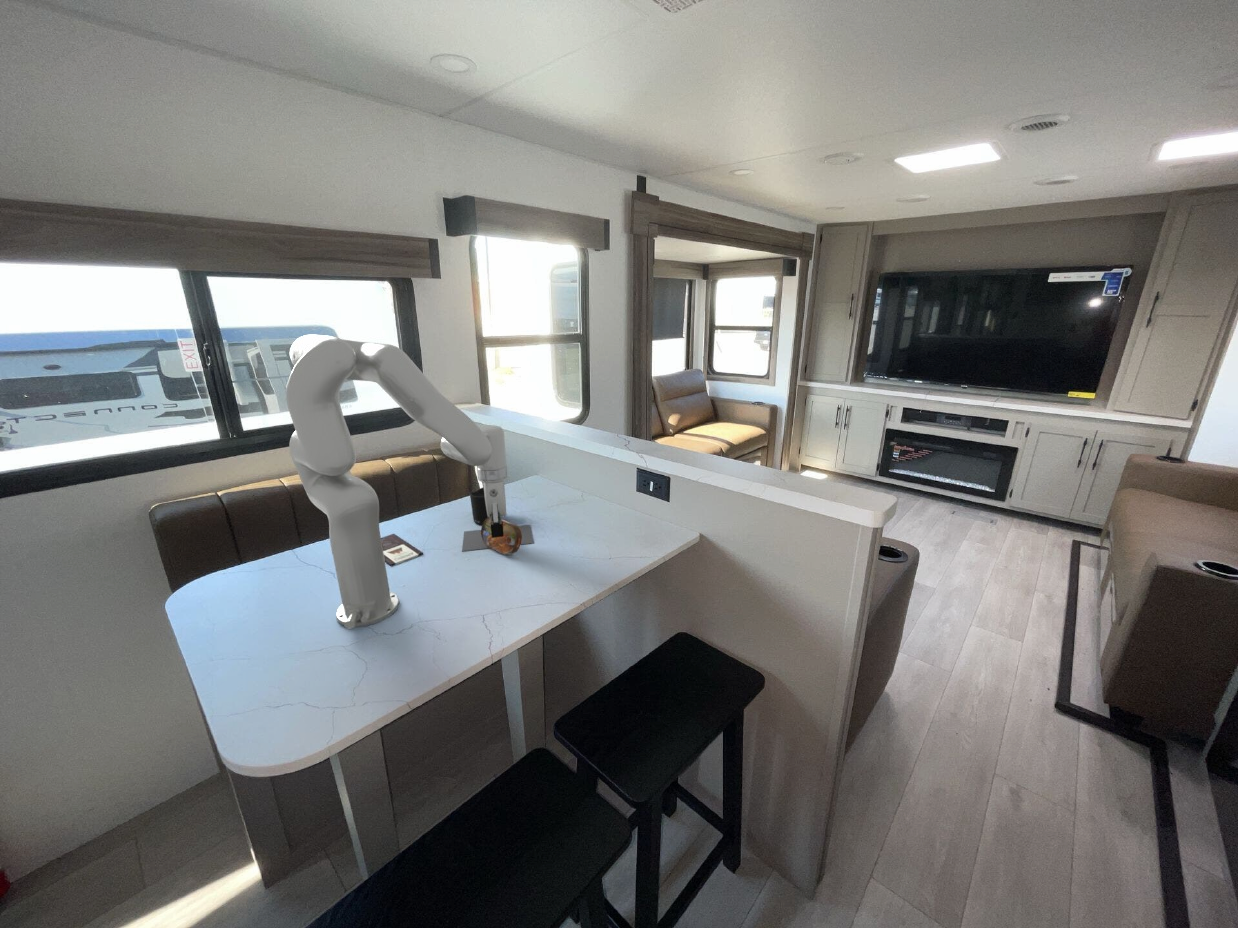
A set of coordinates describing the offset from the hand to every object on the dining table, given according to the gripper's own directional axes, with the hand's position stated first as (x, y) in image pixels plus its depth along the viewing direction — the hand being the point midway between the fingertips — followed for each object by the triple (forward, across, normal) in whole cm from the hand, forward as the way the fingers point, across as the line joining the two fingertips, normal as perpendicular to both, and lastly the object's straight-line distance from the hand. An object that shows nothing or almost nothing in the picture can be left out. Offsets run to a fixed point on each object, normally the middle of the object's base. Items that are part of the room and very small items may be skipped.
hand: (497, 535), depth 132 cm
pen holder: (+6, +24, +3) cm, 25 cm away
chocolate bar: (+6, +10, +29) cm, 32 cm away
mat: (+6, +11, 0) cm, 12 cm away
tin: (+6, +2, 0) cm, 6 cm away
